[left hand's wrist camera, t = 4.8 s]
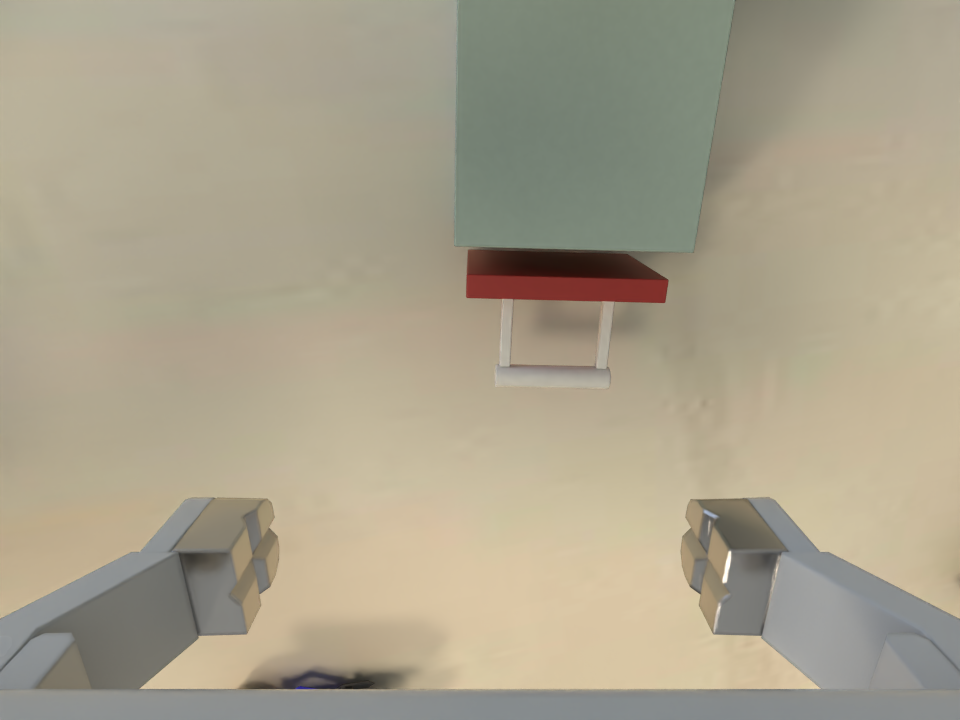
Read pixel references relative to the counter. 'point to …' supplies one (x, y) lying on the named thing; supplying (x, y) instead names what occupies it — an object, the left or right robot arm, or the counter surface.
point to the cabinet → (586, 121)
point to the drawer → (559, 281)
